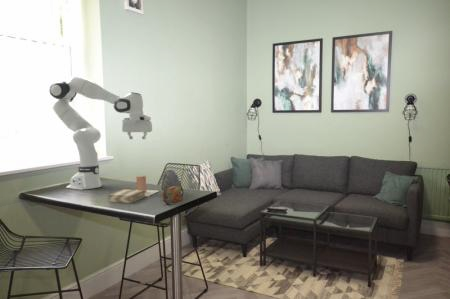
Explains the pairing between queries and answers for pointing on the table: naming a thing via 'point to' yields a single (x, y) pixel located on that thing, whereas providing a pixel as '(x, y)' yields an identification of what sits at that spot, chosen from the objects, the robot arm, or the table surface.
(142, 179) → the block
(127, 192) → the deck
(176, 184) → the decorative rock
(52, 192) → the table surface
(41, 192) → the table surface
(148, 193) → the mat
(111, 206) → the table surface
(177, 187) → the tin
